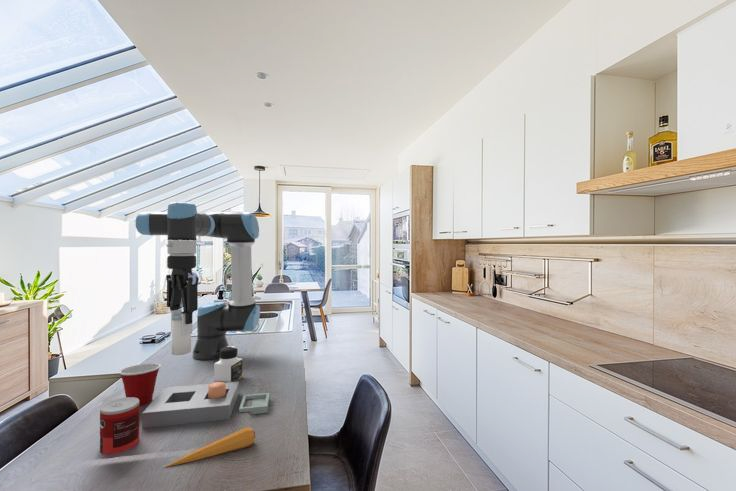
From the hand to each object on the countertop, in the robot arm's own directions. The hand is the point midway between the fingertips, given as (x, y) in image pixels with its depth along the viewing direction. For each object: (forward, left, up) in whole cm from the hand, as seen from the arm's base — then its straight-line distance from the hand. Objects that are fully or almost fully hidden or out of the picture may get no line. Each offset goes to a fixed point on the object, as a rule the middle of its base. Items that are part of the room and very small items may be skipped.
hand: (181, 332), depth 98 cm
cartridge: (0, 0, -6) cm, 6 cm away
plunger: (0, +10, -22) cm, 24 cm away
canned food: (+15, -9, -24) cm, 30 cm away
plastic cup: (-8, -14, -24) cm, 29 cm away
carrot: (+22, +13, -24) cm, 35 cm away
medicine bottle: (-23, +9, -24) cm, 35 cm away
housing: (0, +4, -24) cm, 24 cm away
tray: (0, +21, -24) cm, 32 cm away
